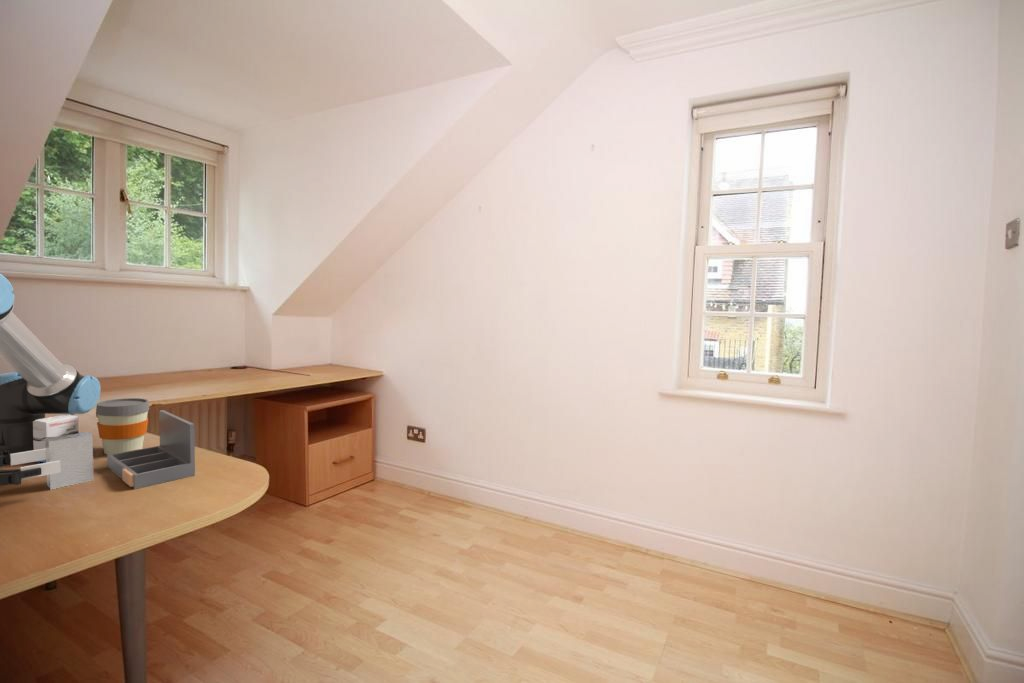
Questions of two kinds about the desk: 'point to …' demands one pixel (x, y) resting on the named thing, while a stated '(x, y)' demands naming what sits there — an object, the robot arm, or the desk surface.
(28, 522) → the desk surface
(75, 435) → the brushed metal block
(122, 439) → the reusable coffee cup
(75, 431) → the ink box
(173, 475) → the rack
